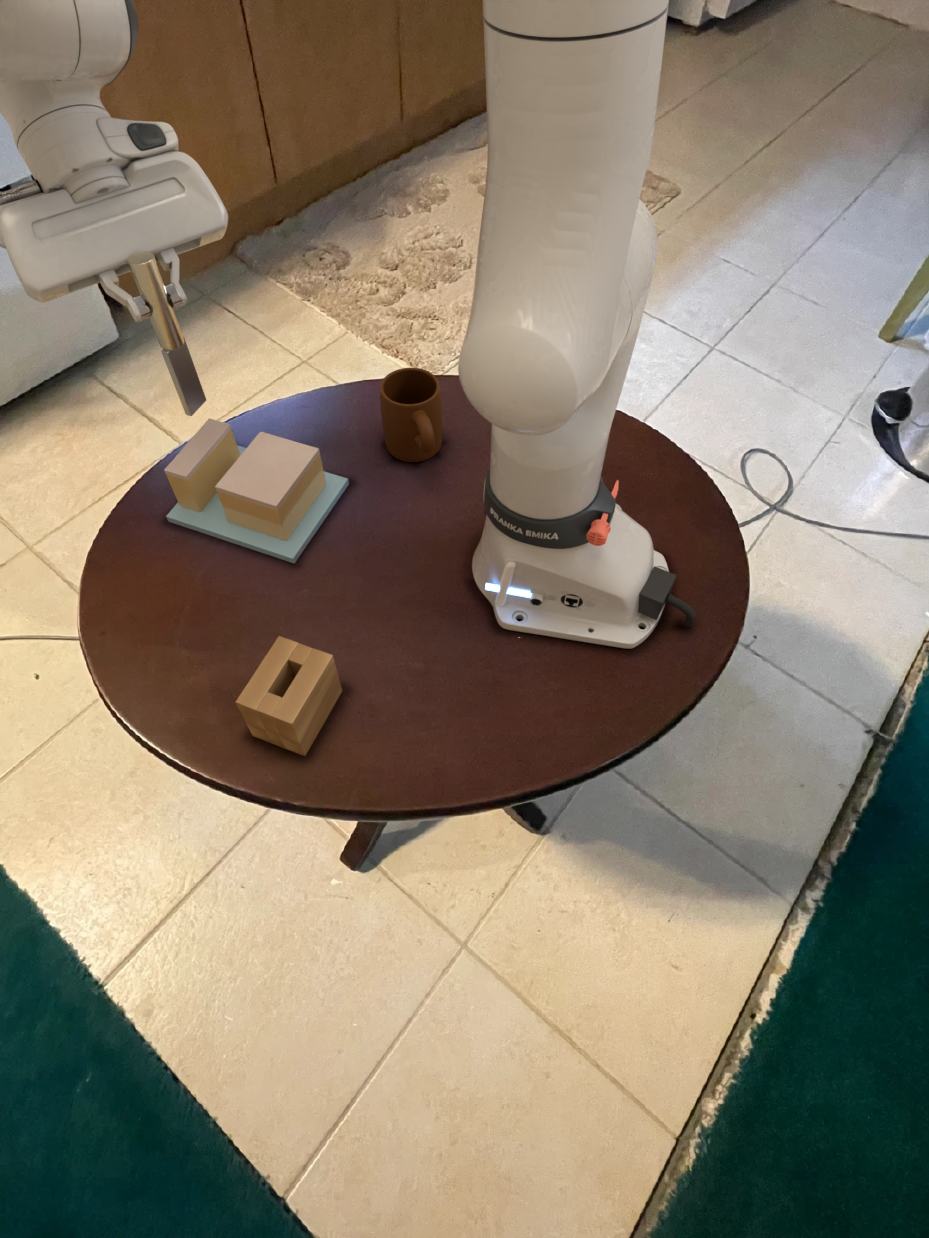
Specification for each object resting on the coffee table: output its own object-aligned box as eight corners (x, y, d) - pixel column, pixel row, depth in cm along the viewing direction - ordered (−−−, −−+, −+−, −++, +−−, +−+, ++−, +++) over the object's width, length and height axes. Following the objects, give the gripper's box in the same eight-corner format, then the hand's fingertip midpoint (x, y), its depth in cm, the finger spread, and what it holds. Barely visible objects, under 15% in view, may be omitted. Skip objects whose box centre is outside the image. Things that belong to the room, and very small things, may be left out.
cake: (349, 484, 96) (342, 442, 91) (294, 564, 89) (282, 523, 83) (230, 448, 100) (216, 405, 94) (168, 521, 93) (148, 480, 87)
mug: (460, 480, 97) (460, 422, 89) (402, 494, 95) (397, 436, 88) (433, 420, 103) (430, 361, 96) (378, 432, 102) (371, 373, 94)
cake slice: (242, 461, 97) (230, 424, 93) (200, 512, 92) (185, 476, 87) (221, 454, 98) (209, 418, 93) (179, 506, 93) (163, 469, 88)
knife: (213, 401, 85) (160, 251, 71) (197, 418, 83) (141, 268, 69) (194, 397, 85) (139, 247, 72) (179, 413, 84) (119, 263, 70)
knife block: (342, 690, 79) (333, 655, 74) (305, 756, 75) (292, 724, 69) (291, 672, 81) (278, 635, 75) (252, 735, 76) (235, 702, 71)
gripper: (-38, 185, 64) (55, 342, 68) (186, 119, 71) (260, 264, 75) (-26, 216, 70) (59, 360, 74) (180, 152, 77) (249, 286, 81)
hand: (162, 311), depth 74 cm, fingers closed on knife, 2 cm apart
